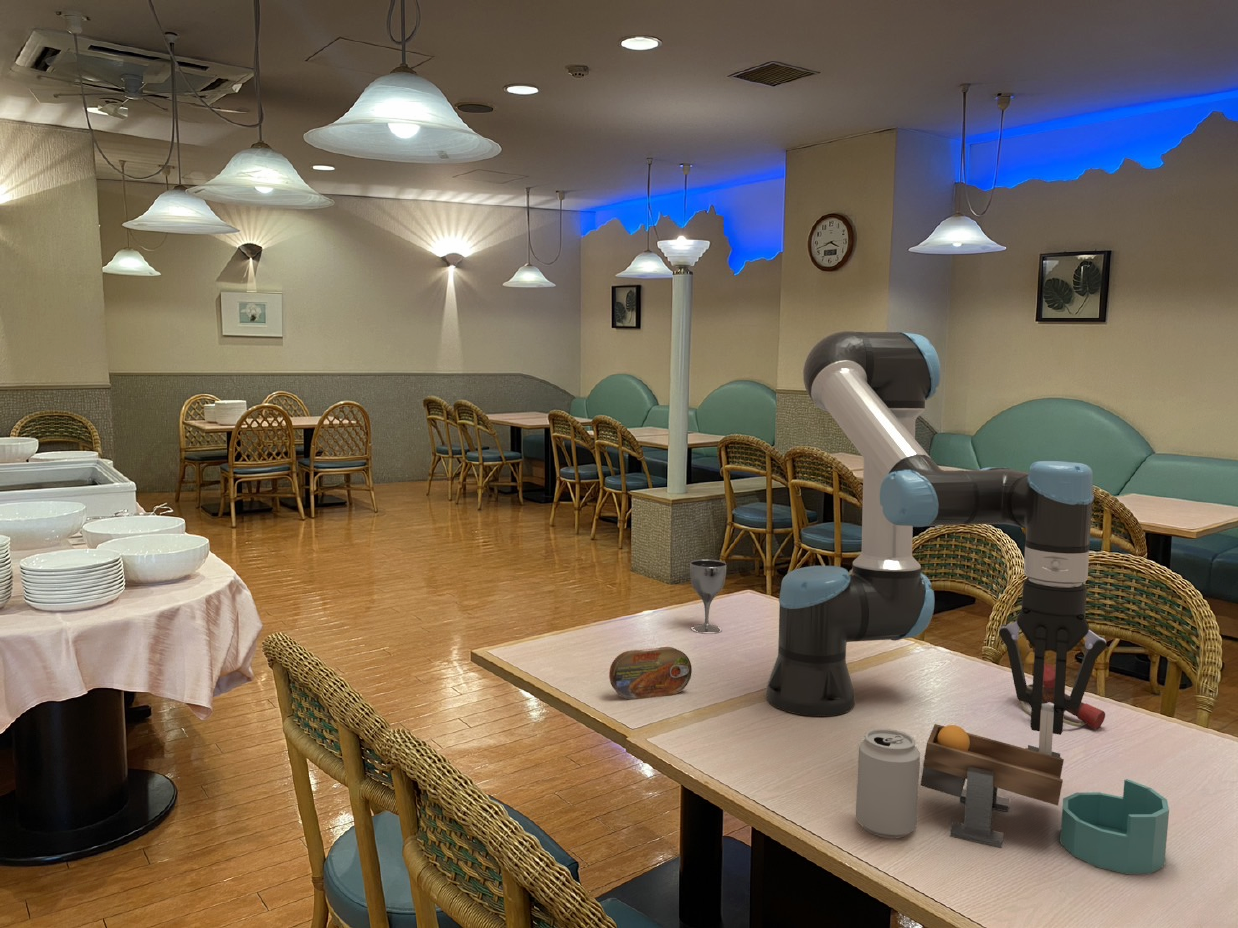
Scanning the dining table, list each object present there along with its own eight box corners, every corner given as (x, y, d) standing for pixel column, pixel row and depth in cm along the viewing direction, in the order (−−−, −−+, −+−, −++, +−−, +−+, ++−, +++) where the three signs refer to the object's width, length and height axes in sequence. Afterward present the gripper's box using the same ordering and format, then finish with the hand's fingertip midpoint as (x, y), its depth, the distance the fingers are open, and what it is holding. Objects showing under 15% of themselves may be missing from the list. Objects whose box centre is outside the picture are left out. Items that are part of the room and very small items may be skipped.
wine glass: (687, 633, 200) (688, 565, 198) (690, 623, 208) (691, 558, 206) (723, 635, 199) (725, 567, 197) (725, 625, 206) (727, 560, 205)
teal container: (1059, 858, 110) (1063, 802, 109) (1061, 817, 120) (1064, 766, 119) (1167, 883, 105) (1172, 825, 104) (1159, 838, 115) (1164, 785, 114)
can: (847, 812, 120) (851, 725, 119) (902, 811, 121) (906, 724, 120) (867, 842, 113) (871, 749, 111) (925, 840, 113) (931, 748, 112)
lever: (919, 787, 119) (926, 743, 118) (934, 749, 130) (940, 709, 129) (1053, 828, 112) (1062, 781, 111) (1056, 785, 123) (1064, 742, 122)
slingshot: (1074, 698, 164) (1126, 703, 149) (1041, 742, 162) (1090, 751, 147) (1003, 634, 165) (1047, 633, 150) (969, 677, 163) (1011, 680, 148)
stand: (950, 835, 115) (954, 771, 114) (962, 794, 126) (965, 735, 125) (1001, 847, 112) (1005, 781, 111) (1008, 804, 123) (1012, 743, 122)
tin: (612, 702, 158) (613, 655, 157) (606, 696, 161) (607, 649, 160) (691, 693, 163) (693, 647, 162) (685, 687, 166) (686, 642, 165)
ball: (931, 754, 119) (939, 726, 118) (936, 743, 123) (943, 716, 122) (963, 766, 117) (971, 738, 117) (966, 754, 121) (974, 727, 120)
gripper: (998, 580, 118) (989, 755, 120) (1112, 592, 112) (1101, 776, 115) (1002, 569, 125) (994, 736, 127) (1111, 580, 119) (1100, 754, 121)
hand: (1044, 755), depth 121 cm, fingers closed
